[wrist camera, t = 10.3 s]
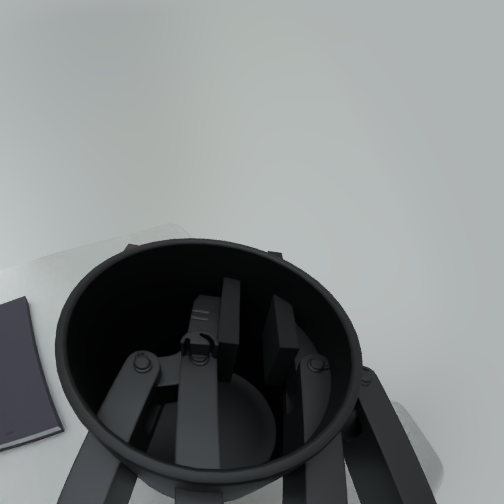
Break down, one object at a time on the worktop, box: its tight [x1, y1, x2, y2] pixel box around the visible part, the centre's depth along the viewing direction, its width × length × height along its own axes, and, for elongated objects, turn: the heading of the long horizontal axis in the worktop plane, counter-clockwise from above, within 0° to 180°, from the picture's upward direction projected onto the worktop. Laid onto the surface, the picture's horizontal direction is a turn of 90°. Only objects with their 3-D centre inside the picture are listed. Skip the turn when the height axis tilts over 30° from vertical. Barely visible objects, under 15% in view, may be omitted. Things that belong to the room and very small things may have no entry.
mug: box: [55, 238, 363, 502], centre depth 11 cm, size 9×12×9 cm
